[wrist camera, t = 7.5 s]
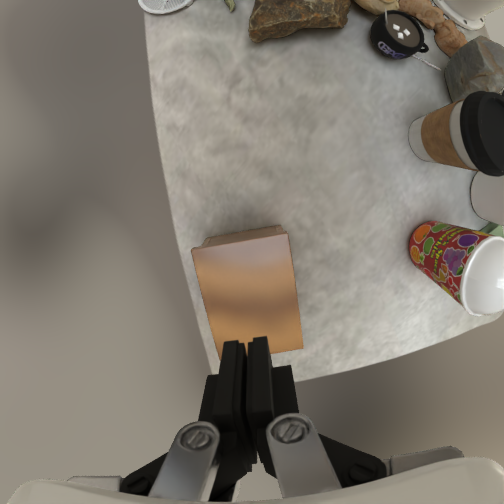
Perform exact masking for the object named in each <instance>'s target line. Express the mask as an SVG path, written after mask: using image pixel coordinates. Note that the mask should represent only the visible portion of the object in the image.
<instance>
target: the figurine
mask: <svg viewBox="0 0 504 504" xmlns="http://www.w3.org/2000/svg"><path fill="white" fill-rule="evenodd" d="M398 3H399V9H398V10H399V11H403V12H406V13H407V14H409V15H410V16H414V17H416V18H417V19H419V20H420V21H421V22H423V23H424V25H425V26H426V27H427V28H429V29H431V30H432V29H434V30H435V32H436V34H435V36H434V38H435V40H436V42H437V45H438V46H439V48H440V49H441V50H442V51H443V52H444V53H445V54H447V55H448V56H449V57H452V55H453V54H454V53H456V52H457V51H458V50H459V48H461V47H462V46H463V45H465V44H466V43H468V42H467V41H466V39H465V36H464V34H462V33H461V32H460V31H459V30H458V29H457V28H456V26H455V23H454V22H453V21H452V20H447V19H445V18H444V17H443V14H444V12H443V10H442V9H440V8H438V7H434V6H432V3H431V1H429V0H399V1H398Z"/></svg>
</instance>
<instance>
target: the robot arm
mask: <svg viewBox="0 0 504 504" xmlns="http://www.w3.org/2000/svg"><path fill="white" fill-rule="evenodd" d="M433 1H434V3H435V4H436V5H437V6H438V7H439V8H440V9H442V10H443V12H444V14H445V15H447V16H448V17H449V18H450V19H451V20H453V21H454V22H455V23H457V24H458V25H460V26H462V27H464V28H466V29H469V30H478V29H480V28H482V27H483V25H484V23H485V15H486V14H488V13H490V12H492V11H494V10H496V9H498V8H501V7H503V6H504V0H433ZM257 452H258V455H259V458H260V461H261V463H263V465H264V468H265V471H266V472H267V473H268V474H270V475H271V476H273V477H275V478H276V479H278V483H279V487H280V490H281V494H282V498H283V499H274V500H262V501H246V502H237V498H238V493H239V489H240V485H241V481H240V479H241V478H242V477H243V476H245V475H246V474H247V472H252V464H256V463H257ZM7 504H504V468H503V467H502V466H500V465H499V464H498V463H497V462H495V461H493V460H491V459H488V458H483V457H465V458H464V455H463V453H462V451H460V450H459V449H457V448H455V447H452V446H447V447H441V448H436V449H431V450H426V451H420V452H415V453H408V454H403V455H395V456H391V457H390V459H384V460H380V459H379V458H377V457H375V456H372V455H370V454H367V453H364V452H362V451H359V450H356V449H354V448H352V447H349V446H347V445H344V444H342V443H339V442H337V441H335V440H332V439H330V438H328V437H325V436H323V435H321V434H319V433H317V430H316V428H315V426H314V424H313V422H312V421H311V419H310V418H308V417H307V416H305V415H303V414H299V410H298V404H297V398H296V392H295V386H294V380H293V374H292V368H291V365H287V366H280V367H274V368H273V366H272V360H271V355H270V349H269V344H268V338H267V336H261V337H254V338H253V341H252V342H248V354H247V352H246V348H245V344H244V343H239V340H232V341H224V344H223V350H222V356H221V362H220V368H219V374H215V375H208V377H207V380H206V385H205V390H204V394H203V399H202V404H201V409H200V414H199V419H198V422H193V423H190V424H188V425H186V426H184V427H183V428H181V429H180V430H179V432H178V433H177V435H176V437H175V439H174V441H173V443H172V445H171V448H170V450H169V452H167V453H166V454H164V455H162V456H161V457H159V458H157V459H155V460H154V461H152V462H150V463H149V464H147V465H145V466H143V467H142V468H140V469H138V470H136V471H134V472H133V473H131V474H129V475H128V476H127V477H126V478H122V477H120V476H73V477H71V478H69V479H68V480H67V481H63V480H53V479H52V480H51V479H45V480H33V481H28V482H26V483H24V484H22V485H21V486H20V487H19V488H18V489H17V490H16V491H15V492H14V494H13V495H12V497H11V498H10V500H9V501H8V503H7Z"/></svg>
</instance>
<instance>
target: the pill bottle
mask: <svg viewBox="0 0 504 504" xmlns="http://www.w3.org/2000/svg"><path fill="white" fill-rule="evenodd" d="M471 201H472V205H473V208H474V210H475V212H476V213H477V215H478V216H479V217H481V218H482V219H484V220H487V221H490V222H493V223H496V224H499V225H502V226H504V175H503V176H500V177H494V176H488V175H486V174H484V173H482V172H481V171H479V172H478V173H477V174H476V175H475V177H474V179H473V182H472V186H471Z"/></svg>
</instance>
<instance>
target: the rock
mask: <svg viewBox="0 0 504 504" xmlns="http://www.w3.org/2000/svg"><path fill="white" fill-rule="evenodd" d="M349 7H350V0H256V1H255V6H254V9H253V12H252V15H251V17H250V20H249V30H248V31H249V36H250V38H251V40H252V41H253V42H256V43H258V42H261V41H263V40H264V39H266V38H269V37H270V38H278V37H284V36H288V35H289V34H291V33H293V32H295V31H298V30H299V29H303V28H325V27H329V28H343V27H344V25H346V23H347V22H348V18H347V14H348V13H349V11H350V10H349Z"/></svg>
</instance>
